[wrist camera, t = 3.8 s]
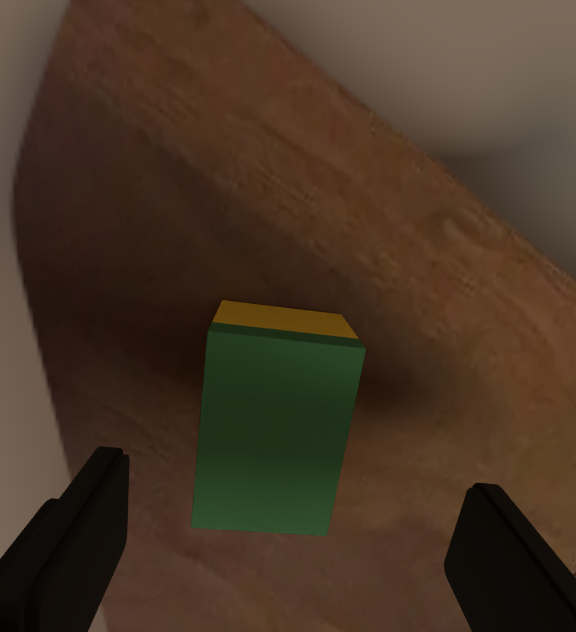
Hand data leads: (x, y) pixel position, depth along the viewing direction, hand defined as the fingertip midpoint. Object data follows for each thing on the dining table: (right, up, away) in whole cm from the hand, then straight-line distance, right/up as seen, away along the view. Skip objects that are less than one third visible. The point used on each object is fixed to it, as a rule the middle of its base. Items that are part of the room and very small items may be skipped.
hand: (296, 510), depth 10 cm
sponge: (-1, +2, +6) cm, 7 cm away
